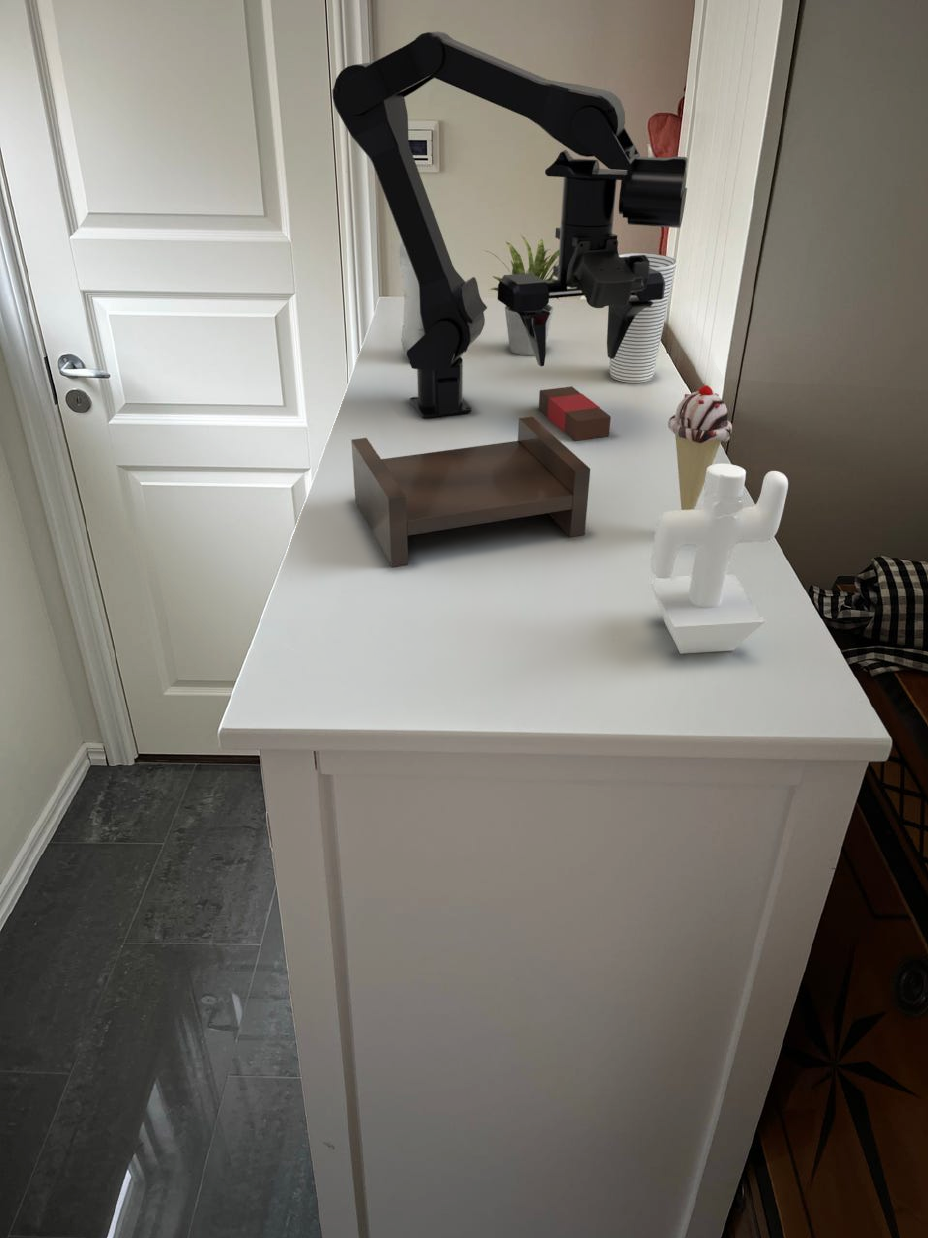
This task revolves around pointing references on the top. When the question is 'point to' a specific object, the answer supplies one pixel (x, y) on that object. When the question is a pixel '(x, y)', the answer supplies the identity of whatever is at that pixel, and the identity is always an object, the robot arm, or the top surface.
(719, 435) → the ice cream cone
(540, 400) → the chocolate bar
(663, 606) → the figurine
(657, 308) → the cup
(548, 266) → the house plant
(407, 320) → the plastic bottle
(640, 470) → the top surface
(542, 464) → the shelf
